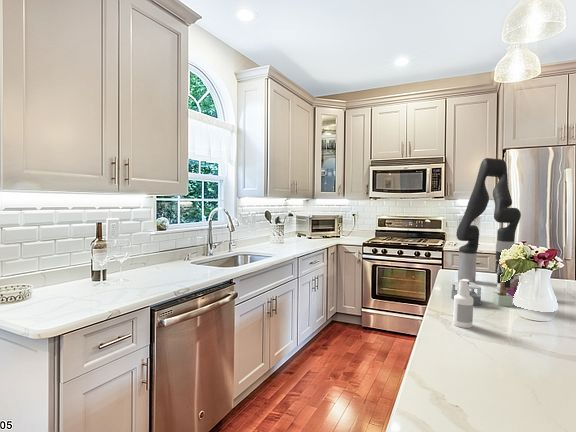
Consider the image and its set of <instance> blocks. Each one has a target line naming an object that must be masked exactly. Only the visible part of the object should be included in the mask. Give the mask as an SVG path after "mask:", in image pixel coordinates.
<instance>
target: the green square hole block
mask: <svg viewBox="0 0 576 432" xmlns="http://www.w3.org/2000/svg"><path fill="white" fill-rule="evenodd" d="M492 295H493V298H492V299H493V300H492V303H494V304H495V305H497V306H498V307H513V303H514V302H513V301H514V299H513V298H514V297H513V296H511V295H509V294H508V293H506V296H500V293H497V291H496V292H493V294H492Z"/></svg>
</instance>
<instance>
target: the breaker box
mask: <svg viewBox="0 0 576 432" xmlns="http://www.w3.org/2000/svg"><path fill="white" fill-rule="evenodd" d="M459 283H460V282H459V281H453V280H452V281H451V294H450V296H451V298H450V299H452V300H453V301H454V296H455V295H457V294H458V290H459ZM469 286H470V296H471V297H472V298H473V299H474V300H473V306H481V302H482V298H481V297H482V287H481V286H479V285H478V284H477V283H476V282H475V283H474V282H469ZM475 290H476V291H477V292H475Z"/></svg>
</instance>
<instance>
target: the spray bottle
mask: <svg viewBox="0 0 576 432" xmlns="http://www.w3.org/2000/svg"><path fill="white" fill-rule="evenodd" d="M470 286H471V285H469V280H467V279H462V280H460V283H459V290H458V294H457V295H455V296H454V300H453V314H452V318H453V319H452V324H453V325H454V326H456V327H459V328H462V329H463V328H464V329H470V328H473V323H474V322H473V321H474V320H473V318H474V305H473V300H474V299H473V298H472V297H471V296H470V291H471V289H470Z"/></svg>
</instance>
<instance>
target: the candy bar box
mask: <svg viewBox="0 0 576 432" xmlns="http://www.w3.org/2000/svg"><path fill="white" fill-rule="evenodd" d="M518 282H519V276H518V275H514V278H513V279H511V280H510V288H507V292H506V293H508V294H509V295H511V296H514V294H515V292H516V290H517V286H518ZM496 293H500V283H497V286H496Z"/></svg>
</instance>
